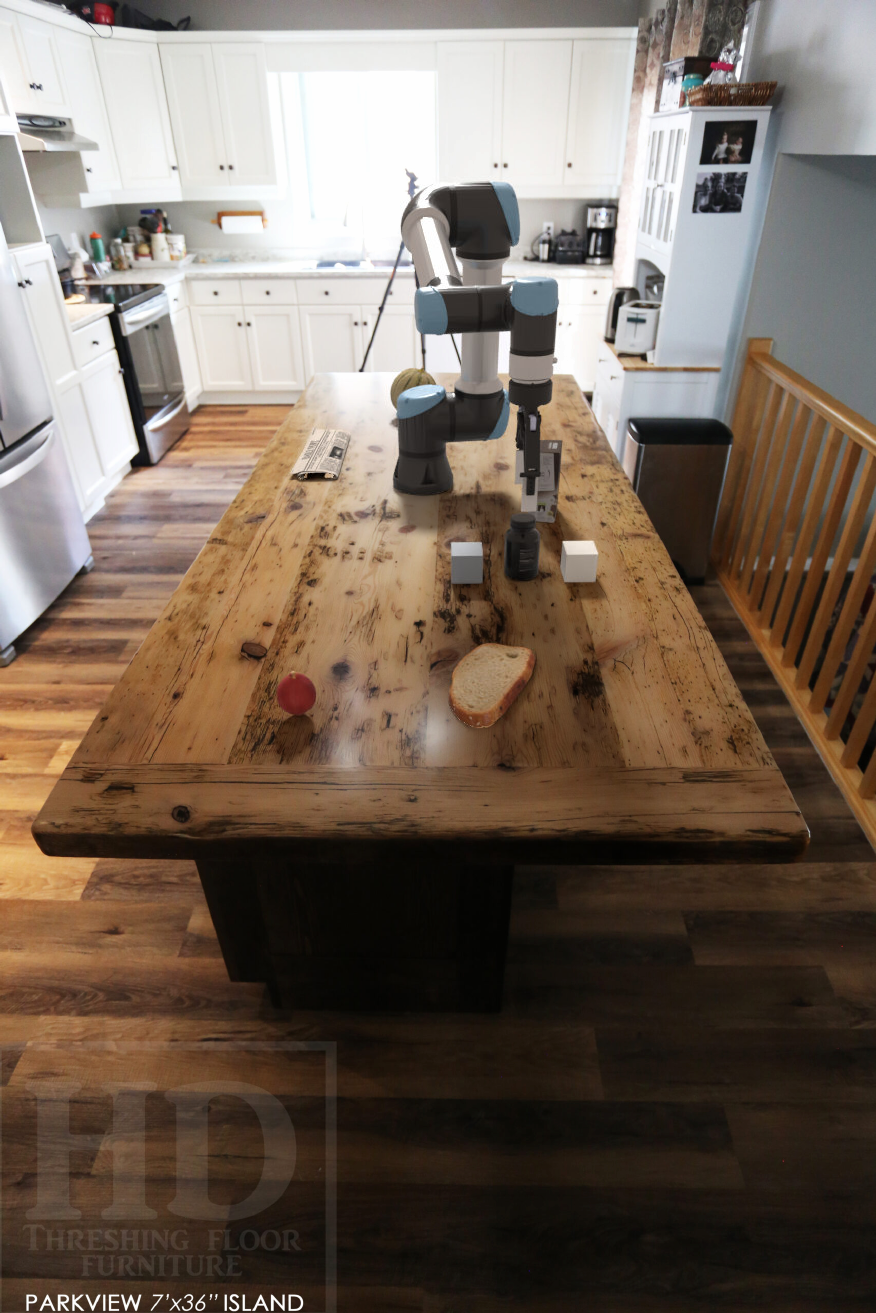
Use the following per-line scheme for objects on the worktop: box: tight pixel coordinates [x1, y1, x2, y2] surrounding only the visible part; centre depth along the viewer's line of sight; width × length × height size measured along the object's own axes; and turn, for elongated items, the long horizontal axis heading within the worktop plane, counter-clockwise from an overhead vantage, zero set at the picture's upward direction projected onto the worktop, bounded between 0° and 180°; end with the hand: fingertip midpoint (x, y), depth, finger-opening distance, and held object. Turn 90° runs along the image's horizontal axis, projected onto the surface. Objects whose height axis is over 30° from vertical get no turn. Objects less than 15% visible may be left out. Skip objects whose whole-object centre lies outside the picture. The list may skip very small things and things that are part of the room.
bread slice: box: [448, 642, 536, 728], centre depth 119 cm, size 18×18×4 cm
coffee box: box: [527, 439, 563, 524], centre depth 170 cm, size 9×6×16 cm
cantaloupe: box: [389, 366, 438, 411], centre depth 235 cm, size 15×15×15 cm
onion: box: [276, 670, 317, 717], centre depth 112 cm, size 6×6×8 cm
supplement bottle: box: [503, 512, 541, 582], centre depth 147 cm, size 7×7×12 cm
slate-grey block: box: [450, 541, 484, 585], centre depth 149 cm, size 6×6×6 cm
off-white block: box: [559, 540, 599, 583], centre depth 148 cm, size 6×6×6 cm
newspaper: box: [289, 426, 351, 480], centre depth 209 cm, size 35×12×4 cm, turn 0°
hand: (525, 496), depth 141 cm, fingers open, 13 cm apart
